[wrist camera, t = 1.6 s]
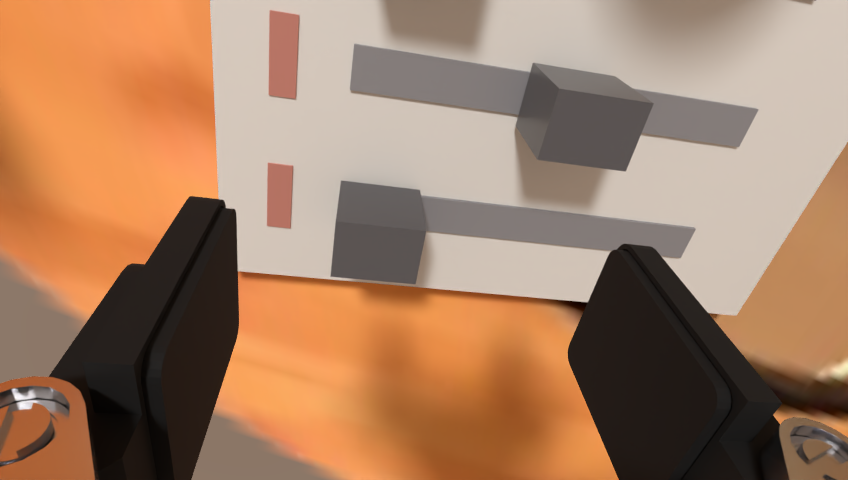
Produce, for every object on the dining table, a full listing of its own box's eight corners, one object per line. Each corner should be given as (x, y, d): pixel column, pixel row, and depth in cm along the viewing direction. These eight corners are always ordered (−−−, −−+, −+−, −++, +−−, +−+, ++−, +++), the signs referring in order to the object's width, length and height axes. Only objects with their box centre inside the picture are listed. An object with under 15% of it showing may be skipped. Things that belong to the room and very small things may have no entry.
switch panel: (975, -131, 23) (1162, -143, 17) (719, 296, 35) (780, 366, 30) (211, -332, 18) (139, -437, 12) (230, 249, 30) (198, 323, 25)
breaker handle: (615, 75, 24) (654, 103, 20) (592, 136, 25) (625, 171, 22) (532, 62, 23) (559, 88, 20) (515, 126, 25) (537, 159, 21)
